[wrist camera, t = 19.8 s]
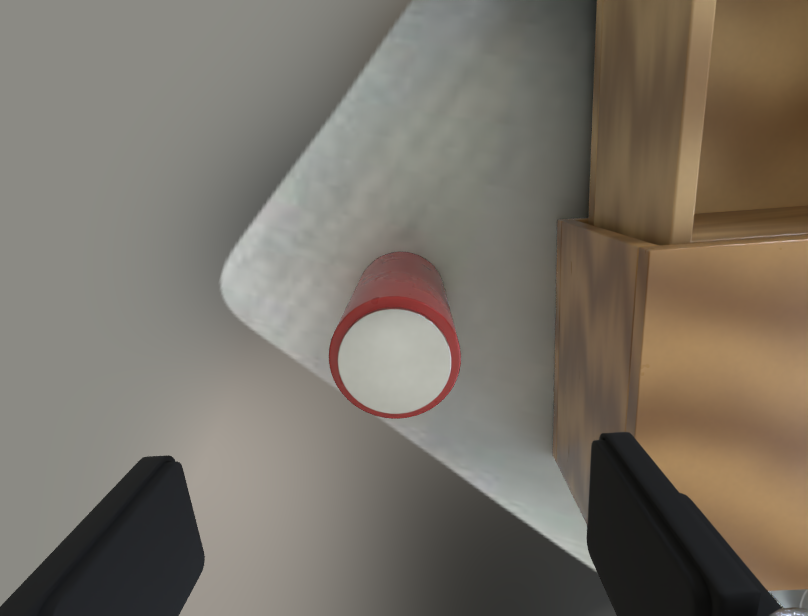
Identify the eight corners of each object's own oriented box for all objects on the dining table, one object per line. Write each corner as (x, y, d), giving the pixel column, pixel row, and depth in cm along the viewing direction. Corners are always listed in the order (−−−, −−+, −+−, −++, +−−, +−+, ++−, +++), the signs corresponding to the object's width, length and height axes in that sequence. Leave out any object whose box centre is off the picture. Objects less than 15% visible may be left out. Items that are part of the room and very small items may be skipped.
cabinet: (557, 219, 26) (649, 250, 16) (821, 199, 25) (1093, 218, 15) (552, 455, 30) (622, 597, 20) (777, 443, 30) (965, 583, 20)
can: (353, 254, 27) (318, 303, 17) (442, 248, 27) (459, 294, 17) (362, 337, 28) (335, 426, 18) (446, 332, 28) (464, 419, 18)
